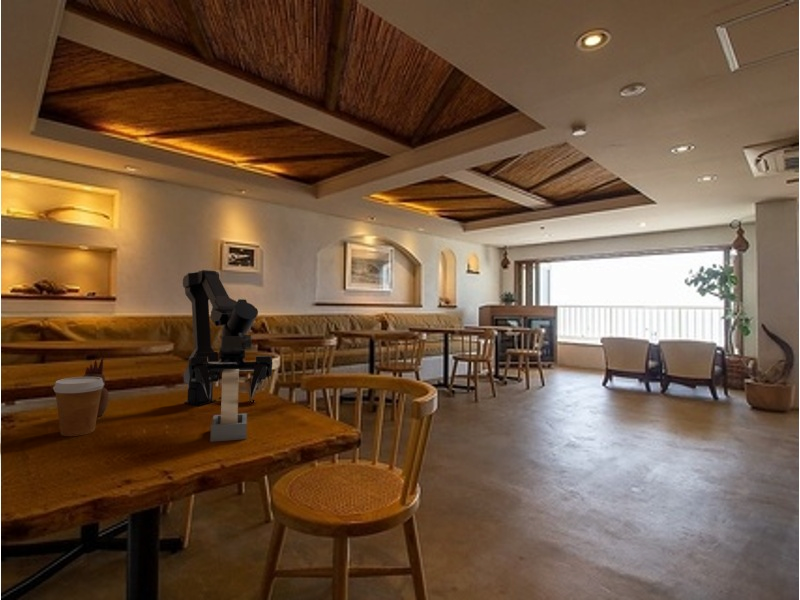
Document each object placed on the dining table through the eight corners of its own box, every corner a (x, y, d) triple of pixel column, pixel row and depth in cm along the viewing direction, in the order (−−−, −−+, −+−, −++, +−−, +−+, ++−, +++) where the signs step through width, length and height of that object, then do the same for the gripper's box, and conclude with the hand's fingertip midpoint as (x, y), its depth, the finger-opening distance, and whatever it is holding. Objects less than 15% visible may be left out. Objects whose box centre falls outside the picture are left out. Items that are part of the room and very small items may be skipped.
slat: (221, 428, 102) (223, 369, 102) (237, 427, 103) (239, 369, 103) (220, 434, 97) (222, 373, 97) (236, 433, 98) (238, 372, 98)
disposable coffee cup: (62, 441, 92) (63, 385, 92) (44, 433, 97) (45, 380, 97) (110, 430, 100) (112, 379, 100) (92, 423, 105) (93, 374, 105)
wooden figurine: (113, 413, 114) (114, 357, 114) (95, 419, 108) (97, 360, 108) (89, 412, 115) (91, 356, 115) (71, 418, 109) (72, 359, 109)
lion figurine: (269, 399, 135) (269, 371, 135) (265, 403, 130) (266, 374, 130) (221, 399, 134) (221, 370, 134) (215, 403, 128) (216, 373, 128)
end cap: (213, 429, 103) (213, 415, 103) (246, 427, 106) (246, 413, 106) (210, 441, 95) (210, 425, 95) (246, 439, 97) (246, 423, 97)
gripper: (190, 322, 101) (182, 378, 90) (273, 323, 107) (274, 375, 97) (193, 351, 108) (186, 406, 98) (270, 351, 114) (271, 402, 104)
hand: (230, 396), depth 99 cm, fingers open, 9 cm apart
